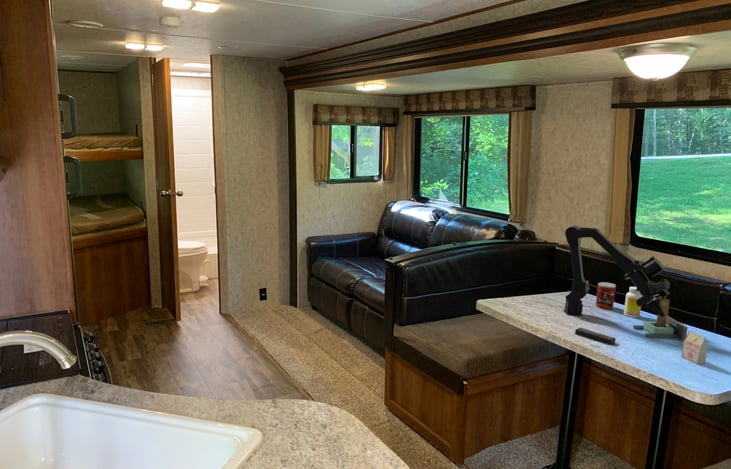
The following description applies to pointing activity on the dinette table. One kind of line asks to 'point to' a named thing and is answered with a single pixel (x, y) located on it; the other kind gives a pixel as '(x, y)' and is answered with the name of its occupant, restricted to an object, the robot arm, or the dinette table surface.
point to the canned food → (605, 295)
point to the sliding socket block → (657, 328)
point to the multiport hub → (595, 336)
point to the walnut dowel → (664, 306)
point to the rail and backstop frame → (678, 333)
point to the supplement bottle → (632, 303)
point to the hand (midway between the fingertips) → (665, 315)
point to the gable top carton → (694, 348)
